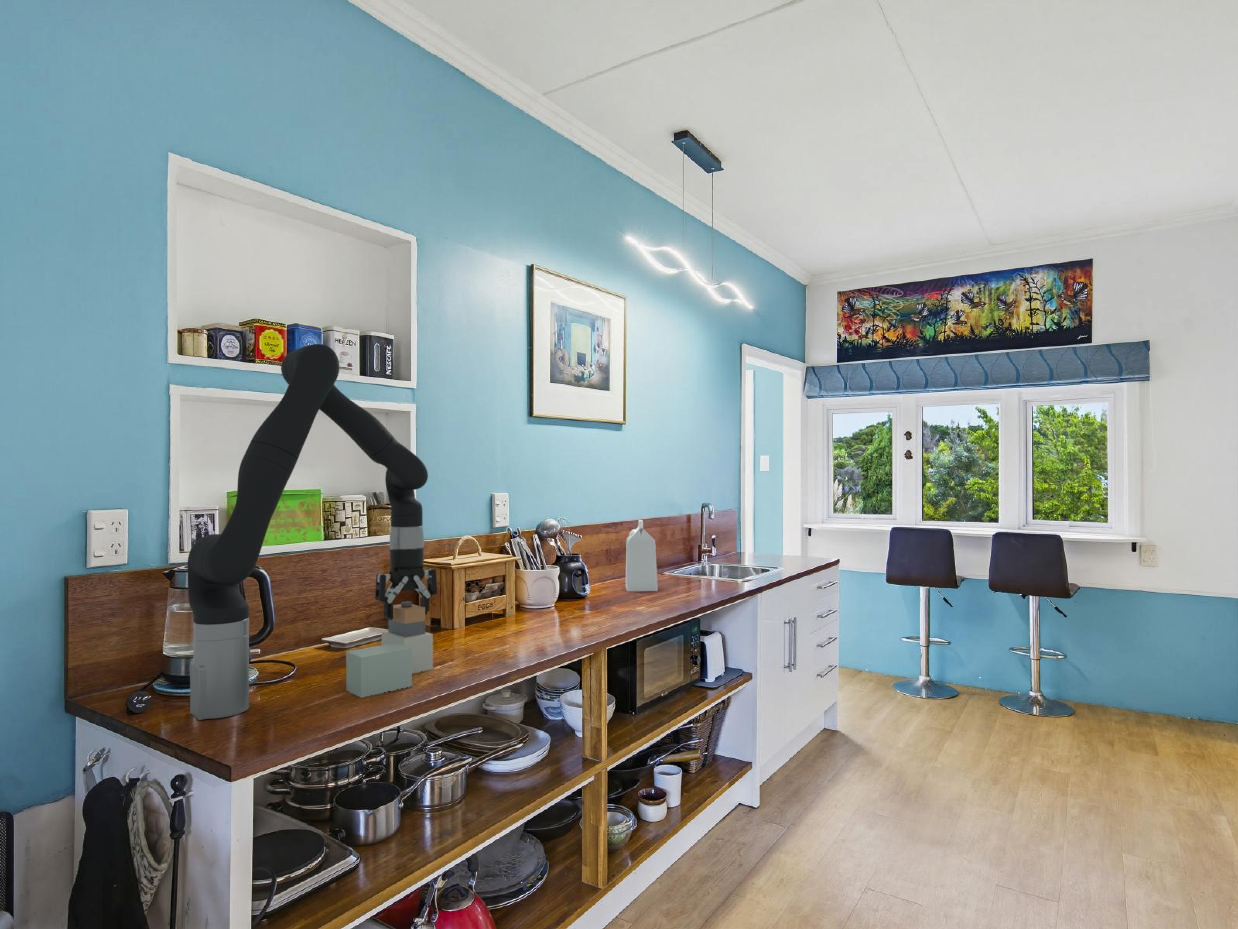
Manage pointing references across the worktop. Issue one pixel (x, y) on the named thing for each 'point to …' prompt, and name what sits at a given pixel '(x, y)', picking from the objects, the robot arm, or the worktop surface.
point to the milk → (641, 561)
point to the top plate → (408, 613)
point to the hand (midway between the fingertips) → (406, 616)
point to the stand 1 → (378, 669)
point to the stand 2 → (414, 649)
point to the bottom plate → (406, 628)
